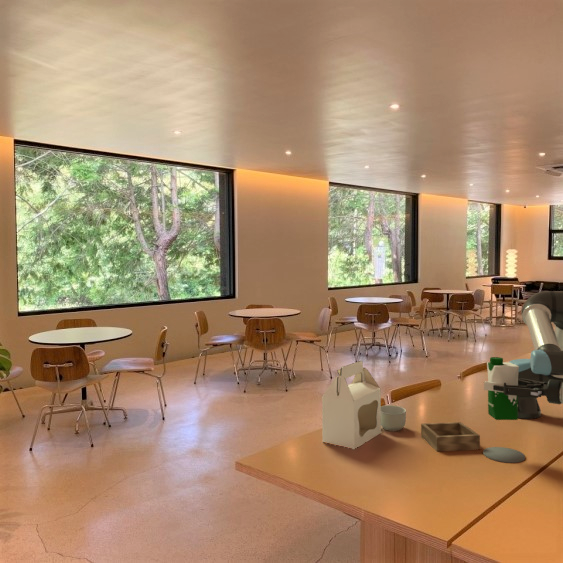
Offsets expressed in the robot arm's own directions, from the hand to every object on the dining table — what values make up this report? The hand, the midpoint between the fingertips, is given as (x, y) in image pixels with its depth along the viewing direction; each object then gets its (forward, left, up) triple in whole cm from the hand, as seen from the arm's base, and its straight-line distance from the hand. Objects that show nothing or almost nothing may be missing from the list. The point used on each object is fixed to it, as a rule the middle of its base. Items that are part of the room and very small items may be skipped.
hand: (489, 382), depth 177 cm
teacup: (+27, -30, -24) cm, 47 cm away
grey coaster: (-3, +3, -24) cm, 25 cm away
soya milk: (-3, +3, -11) cm, 12 cm away
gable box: (+43, -20, -24) cm, 54 cm away
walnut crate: (+10, -11, -24) cm, 28 cm away
